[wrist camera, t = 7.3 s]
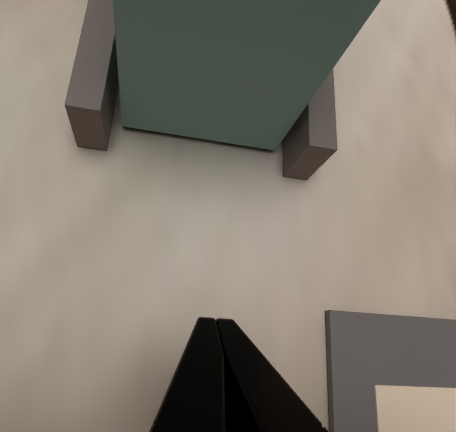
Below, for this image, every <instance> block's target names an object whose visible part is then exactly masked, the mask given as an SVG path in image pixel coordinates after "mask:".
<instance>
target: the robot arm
mask: <svg viewBox="0 0 456 432" xmlns="http://www.w3.org/2000/svg"><path fill="white" fill-rule="evenodd" d="M149 432H329V431H328V430H327V429H326V428H325V427H322V423H321V422H320V421H319V420H318V419H317V418H316V416H315V415H314V414H313V413H312V412H311V410H310V409H309V408H308V407H307V406H306V405H305V403H304V402H303V401H302V400H301V399H300V398H299V396H298V395H297V394H296V393H295V392H294V391H293V389H292V388H291V387H290V386H289V385H288V383H287V382H286V381H285V380H284V379H283V378H282V376H281V375H280V374H279V373H278V372H277V371H276V369H275V368H274V367H273V366H272V365H271V364H270V362H269V361H268V360H267V359H266V358H265V356H264V355H263V354H262V353H261V352H260V351H259V349H258V348H257V347H256V346H255V345H254V344H253V342H252V341H251V340H250V339H249V338H248V337H247V335H246V334H245V333H244V332H243V331H242V329H241V328H240V327H239V326H238V325H237V324H236V322H235V321H234V320H232V319H223V318H218V319H216V320H215V319H214V318H209V317H199V318H198V319H197V322H196V324H195V326H194V329H193V331H192V333H191V336H190V338H189V340H188V343H187V345H186V348H185V350H184V352H183V355H182V357H181V359H180V362H179V364H178V366H177V369H176V371H175V373H174V376H173V378H172V380H171V383H170V385H169V387H168V390H167V392H166V394H165V397H164V399H163V401H162V404H161V406H160V408H159V411H158V413H157V415H156V418H155V420H154V422H153V425H152V427H151V429H150V431H149Z"/></svg>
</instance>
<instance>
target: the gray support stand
mask: <svg viewBox="0 0 456 432" xmlns="http://www.w3.org/2000/svg"><path fill="white" fill-rule="evenodd" d="M118 83H119V78H118V65H117V51H116V38H115V25H114V11H113V0H88V5H87V9H86V14H85V18H84V22H83V27H82V31H81V35H80V40H79V44H78V49H77V53H76V57H75V62H74V66H73V71H72V75H71V79H70V84H69V88H68V92H67V97H66V101H65V108H66V111H67V114H68V117H69V121H70V124H71V127H72V130H73V134H74V137H75V140H76V143H77V146H79V147H86V148H93V149H99V150H106V151H107V146H108V140H109V135H110V129H111V123H112V118H113V112H114V106H115V100H116V95H117V89H118ZM336 151H337V134H336V115H335V96H334V77H333V69H332V70H331V72H330V73H329V75H328V76H327V77H326V79H325V80H324V82H323V83H322V85H321V86H320V87H319V89H318V90H317V92H316V93H315V95H314V96H313V97H312V99H311V100H310V102H309V103H308V104H307V106H306V107H305V109H304V110H303V112H302V113H301V114H300V116H299V117H298V119H297V120H296V122H295V123H294V124H293V126H292V127H291V129H290V130H289V132H288V133H287V134H286V136H285V137H284V139H283V176H284V177H291V178H298V179H305V180H307V179H308V178H309V177H310V176H311V175H312V174H313V173H314V172H315V171H316V170H317V169H318V168H319V167H320V166H321V165H322V164H323V163H324V162H325V161H326V160H327V159H328V158H329V157H330V156H332V155H333V154H334V153H335V152H336Z"/></svg>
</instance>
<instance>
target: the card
mask: <svg viewBox="0 0 456 432" xmlns="http://www.w3.org/2000/svg"><path fill="white" fill-rule="evenodd" d="M325 316H326V345H327V374H328V402H329V431H330V432H456V320H450V319H437V318H424V317H411V316H398V315H385V314H372V313H359V312H346V311H333V310H328V311H325Z"/></svg>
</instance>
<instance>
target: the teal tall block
mask: <svg viewBox="0 0 456 432" xmlns="http://www.w3.org/2000/svg"><path fill="white" fill-rule="evenodd" d="M380 1H381V0H113V11H114V25H115V38H116V51H117V65H118V78H119V92H120V105H121V119H122V126H124V127H130V128H136V129H143V130H149V131H155V132H162V133H168V134H174V135H180V136H187V137H193V138H199V139H206V140H212V141H218V142H224V143H231V144H237V145H243V146H250V147H256V148H262V149H268V150H276V149H277V147H278V146H279V144H280V143H281V141H282V140H283V139H284V137H285V136H286V134H287V133H288V132H289V130H290V129H291V127H292V126H293V124H294V123H295V122H296V120H297V119H298V117H299V116H300V114H301V113H302V112H303V110H304V109H305V107H306V106H307V104H308V103H309V102H310V100H311V99H312V97H313V96H314V95H315V93H316V92H317V90H318V89H319V87H320V86H321V85H322V83H323V82H324V80H325V79H326V77H327V76H328V75H329V73H330V72H331V70H332V69H333V67H334V66H335V65H336V63H337V62H338V60H339V59H340V58H341V56H342V55H343V53H344V52H345V50H346V49H347V48H348V46H349V45H350V43H351V42H352V40H353V39H354V38H355V36H356V35H357V33H358V32H359V30H360V29H361V28H362V26H363V25H364V23H365V22H366V21H367V19H368V18H369V16H370V15H371V13H372V12H373V11H374V9H375V8H376V6H377V5H378V3H379V2H380Z"/></svg>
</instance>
